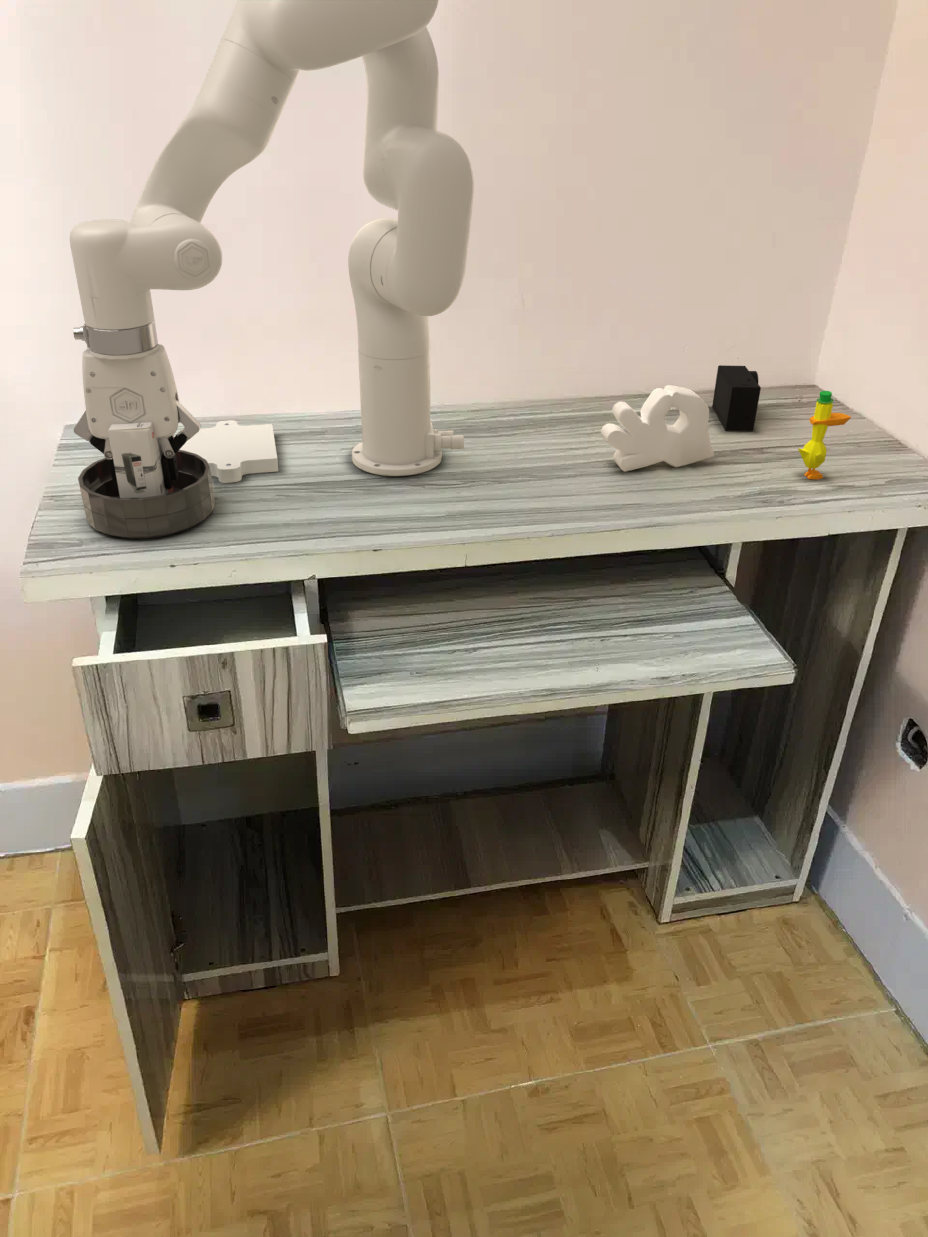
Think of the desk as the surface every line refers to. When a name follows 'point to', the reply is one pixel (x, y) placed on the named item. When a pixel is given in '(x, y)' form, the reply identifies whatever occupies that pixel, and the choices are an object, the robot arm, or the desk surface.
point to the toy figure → (820, 434)
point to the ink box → (137, 460)
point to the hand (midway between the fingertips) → (147, 483)
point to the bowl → (148, 501)
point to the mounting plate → (235, 449)
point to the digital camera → (736, 397)
